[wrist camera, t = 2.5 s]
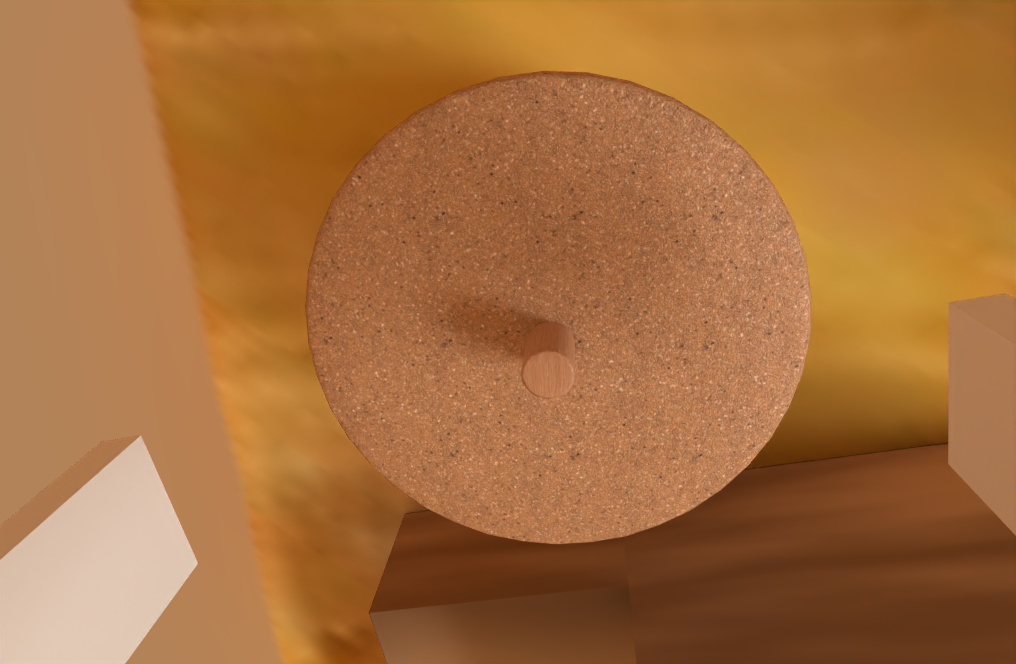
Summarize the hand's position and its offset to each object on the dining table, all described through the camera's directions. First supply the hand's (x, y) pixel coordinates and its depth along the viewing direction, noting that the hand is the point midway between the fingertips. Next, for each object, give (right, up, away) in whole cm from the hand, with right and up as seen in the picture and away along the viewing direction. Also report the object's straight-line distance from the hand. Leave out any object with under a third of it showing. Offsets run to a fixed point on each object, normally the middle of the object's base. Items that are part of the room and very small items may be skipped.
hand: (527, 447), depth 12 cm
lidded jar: (+1, +5, +11) cm, 12 cm away
